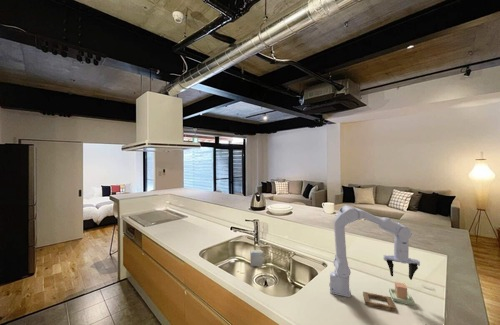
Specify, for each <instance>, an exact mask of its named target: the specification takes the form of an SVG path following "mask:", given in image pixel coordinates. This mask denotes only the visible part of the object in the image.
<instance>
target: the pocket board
mask: <svg viewBox="0 0 500 325" xmlns="http://www.w3.org/2000/svg"><path fill="white" fill-rule="evenodd" d="M362 296H363V300H364V305H365V306H369V307H373V308H377V309H383V310H387V311H392V312H394V313H395V312H396V305H395V303H394V301H393V299H392V297H391V296H387V295H382V294H377V293H373V292H366V291H362ZM370 298H372V299H377V300H381V301H386V303H387V304H384V303H380V302H375V301H372V300H371V301H370Z"/></svg>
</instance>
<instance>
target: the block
mask: <svg viewBox="0 0 500 325" xmlns="http://www.w3.org/2000/svg"><path fill="white" fill-rule="evenodd" d="M394 289H395V295H396V297H397V298H400V299H405V300H407V292H408V288H407V286H406V284H405V283H401V282H397V281H395V282H394Z"/></svg>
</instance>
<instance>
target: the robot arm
mask: <svg viewBox="0 0 500 325" xmlns="http://www.w3.org/2000/svg"><path fill="white" fill-rule="evenodd" d="M363 219H364V220H366V221H369V222H372V223H373V224H377V226H378V228H379V229H381V230H383V231H386V232H389V233H391V234H393V235H394V238H393V239H394V241H393V243H394V246H393V248H394V249H393V252H394V254H393V255H386V254H385V255H384V254H383V261H386V263H387V266H388V270H389V274H390V276H391V277H394V263H395V262H396V263H401V264H408V278H409V280H411V281H412V280H413V276H414V275H415V273H416V271H418V269H419V267H420V266H421V262H420V260H419V259H414V258H410V257H409V250H410V249H409V246H410V242H409V239H410V238H411V237H412V232H411V230H410V229H409V227H407V226H406V225H404V224H401V223H400V222H399V221H397V222H396V221H394V220H392V219H391V218H390V217H384V216H383V217H378V216H376V215H374V214H371V213H370V212H367V211H365V210H364V209H361V208H358V207H356V206H355V207H354V206H351V205H348V204H346V205H345V204H344V205H343V206H342V207H340V208H339V209H338V212H337V214H336V216H335V218H334V220H333V227H334V228H333V230H334V231H333V232H334V244H335V246H334V247H335V255H334V260H333V266H334V270H333V271H330V272H329V273H330V274H329V281H330V282H329V293H330V294H333V295H337V296H342V297H347V298H351V290H350V275H351V273H352V272H351V268H349V262H348V258H347V248H346V247H347V244H346V243H347V242H346V232H345V229H346V228H345V227H346V226H347V225H348V224H350V223H355V222H356V221H357V220H359V221H360V220H363Z"/></svg>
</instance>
